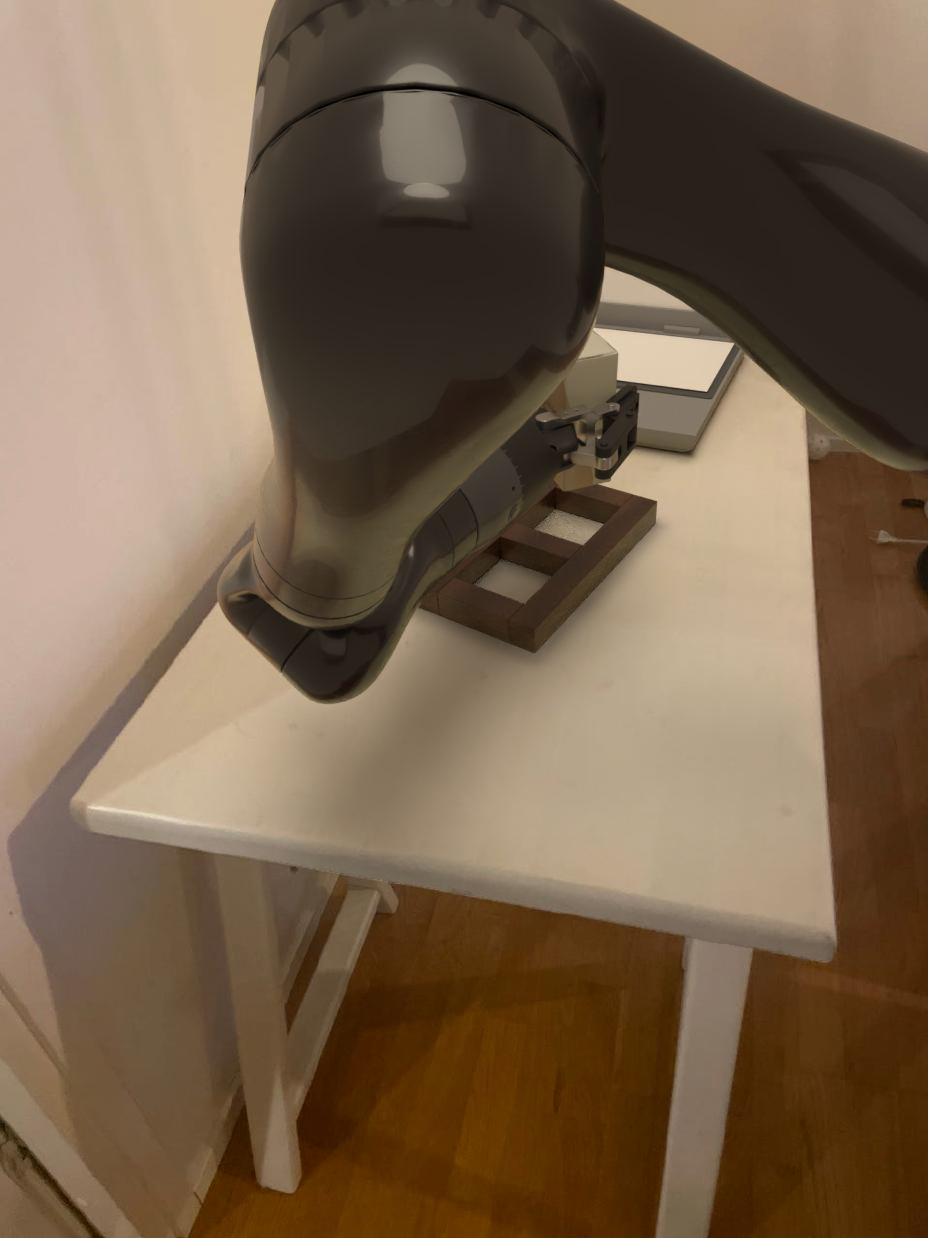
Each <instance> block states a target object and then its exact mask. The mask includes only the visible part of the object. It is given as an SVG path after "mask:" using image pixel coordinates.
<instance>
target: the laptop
mask: <svg viewBox="0 0 928 1238" xmlns="http://www.w3.org/2000/svg"><path fill="white" fill-rule="evenodd" d="M593 330H594V331H595V332H596V333H597V334H599V335H600V336H601V337H602V338H604V339H605V340H606V341H607V342H608V343H609V344H610V345H611V346H612V347H613V348H615V349H616V350H617V351H618V369H617V386H616V393H617V392H618V391H619V390H621V389H622V388H623V387H624V386H625V385H627V384H630V385H634V386H637V393H640V397H639V411H638V424H637V441H636V446H640V447H645V448H651V449H657V450H658V449H659V450H665V451H671V452H678V453H685V452H688V451H691V450H694V448H695V446H696V444H697V442H698V441H699V439H700V437H701V436H702V434H703V431H704V429H706V426H707V424H708V423H709V420H710V419H711V417H712V415H713V413H714V411H715V409H716V408H717V405H718V404H719V402H720V400H721V398H722V396H723V395H724V393H725V391H726V389H727V387H728V386H729V384H730V381H731V379H732V378H733V376H734V374H735V373H736V370H737V369H738V367H739V365H740V363H741V362H742V360H743V358H744V355H746V354H745V353H744V352H743V351H742V350H741V349H740V348H739V347H737V346H736V345H735V344H734V343H733V342H732V341H731V340H730V339H729V338H728V337H726V336H725V335H724V334H723V333H722V332H721V331H719V330H718V329H717V328H716V327H715V326H714V325H713V324H711V323H710V322H709V321H708V320H707V319H706V318H705V317H703V316H702V315H700V314H699V313H698V312H696V311H695V310H693V309H692V308H691V307H689V306H688V305H686V304H685V303H684V302H682V301H681V300H679V299H677V298H675V297H674V296H672V295H670V294H668V293H667V292H665V291H663V290H661V289H660V288H658V287H656V286H654V285H651V284H649V283H647V282H645V281H643V280H640V279H638V278H636V277H634V276H632V275H629V274H626V273H623V272H620V271H617V270H614V269H611V268H608V267H605V270H604V280H603V287H602V294H601V299H600V305H599V311H598V315H597V319H596V323H595V326H594V329H593Z"/></svg>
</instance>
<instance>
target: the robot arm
mask: <svg viewBox="0 0 928 1238" xmlns="http://www.w3.org/2000/svg"><path fill="white" fill-rule="evenodd" d="M257 71H258V72H257V77H256V79H257V80H256V86H255V94H254V95H255V96H254V102H253V111H252V118H251V129H250V136H249V146H248V155H247V161H246V170H245V171H246V172H245V178H244V186H243V187H244V188H243V189H244V190H243V191H244V192H243V198H242V206H241V212H240V219H239V221H240V222H239V233H238V247H239V248H238V249H239V263H240V270H241V271H240V272H241V278H242V287H243V292H244V293H243V294H244V299H245V305H246V309H247V316H248V321H249V325H250V330H251V336H252V340H253V341H252V342H253V345H254V349H255V350H254V351H255V355H256V361H257V366H258V371H259V376H260V380H261V385H262V390H263V394H264V398H265V403H266V409H267V413H268V418H269V422H270V427H271V433H272V442H273V456H272V457H271V459H270V462H269V464H268V465H267V468H266V469H265V472H264V474H263V477H262V481H261V484H260V489H259V490H260V491H259V493H258V499H257V504H256V510H255V511H256V512H255V521H254V529H253V539H252V540H251V541H249V542H247V544H246V545H244V546H243V547H242V548H241V549H240V550H239V551H238V552H237V553H236V554H235V555H234V556H233V558H232V559H230V561H229V563H228V564H227V565H226V566H225V568H224V569H223V571H222V573H221V574H220V577H219V579H218V582H217V586H216V599H217V602H218V605H219V608H220V609H221V612H222V614H223V616H224V617H225V618H226V620H227V621H228V622H229V624H230V625H231V626H232V628H233V629H234V630H235V631H236V632H238V633H239V635H240V636H242V638H243V639H245V640H246V642H247V641H248V644H250V645H251V646H252V647H253V648H254V649H255V650H256V651H257V652H258V653H259V654H260V655H261V656H262V657H263V658H264V659H265V660H266V661H267V662H268V663H269V664H270V665H271V666H272V667H273V668H274V669H275V670H276V671H277V672H279V673H280V674H281V676H282V677H283V678H284V679H285V680H286V681H287V682H288V683H289V684H290V685H291V686H292V687H293V688H294V689H295V690H296V691H298V693H299V694H300V695H302V696H303V697H305V698H306V699H308V700H309V701H311V702H314V703H316V704H320V705H321V704H322V705H335V704H341V703H345V702H348V701H350V700H352V699H355V698H357V697H358V696H360V695H362V694H363V693H364V692H365V691H367V690H368V689H369V688H370V687H371V686H372V685H373V684H374V683H375V682H376V680H377V679H378V678H379V676H380V675H381V674H382V672H383V671H384V669H385V668H386V666H387V664H388V663H389V661H390V659H391V658H392V656H393V654H394V652H395V650H396V649H397V647H398V645H399V643H400V640H401V639H402V636H403V634H404V632H405V630H406V628H407V627H408V625H409V623H410V622H411V620H412V618H413V617H414V615H415V613H416V611H417V610H418V609H419V608H420V607H419V605H420V604H421V603H422V601H423V600H424V599H425V597H426V596H427V595H428V594H429V593H430V592H431V590H432V589H433V588H434V587H435V586H436V585H437V584H438V583H439V582H440V581H441V580H442V579H443V578H444V577H445V576H447V575H448V574H449V573H450V572H451V571H452V570H453V569H455V568H456V567H457V566H458V565H459V564H460V563H461V562H462V561H464V560H465V559H466V558H467V557H468V556H470V555H471V554H472V553H474V552H475V551H477V550H479V549H480V548H482V547H484V546H485V545H487V544H488V543H489V542H491V541H492V540H493V539H494V538H495V537H497V536H498V535H499V534H500V533H501V532H502V531H503V530H505V529H506V528H507V527H508V526H509V525H510V524H511V523H512V522H514V521H515V520H516V519H517V518H518V517H519V516H520V515H521V514H523V513H524V512H525V511H526V510H527V509H528V508H529V507H530V506H532V505H533V504H534V503H535V502H536V501H537V500H538V499H539V498H540V497H542V496H543V495H544V493H545V492H546V491H547V489H548V488H549V486H550V485H551V483H552V481H553V479H554V478H555V476H556V475H557V474H558V473H560V472H562V471H565V470H568V469H571V468H572V467H574V466H575V465H576V464H579V465H584V466H589V467H594V468H595V478H597V479H600V480H607V479H610V478H611V479H612V477H613V476H614V474H615V473H616V472H617V471H618V469H619V468H620V467H621V466H622V464H623V463H624V462H625V461H626V460H627V458H628V457H629V456H630V454H631V453H632V452H633V451H634V449H635V448H636V447H637V445H636V441H637V424H638V411H639V397H640V393H637V386H634V385H630V384H627V385H625V386H624V387H623V388H622V389H621V390H619V391H618V392H617V393H616V394H615V395H613V396H612V397H611V398H610V399H609V400H607V401H606V403H605V404H602V405H599V406H596V407H592V408H589V407H587V406H586V405H584V404H582V405H578V406H575V407H572V408H568V409H565V410H562V411H559V412H557V411H548V410H545V409H543V408H541V406H542V405H543V404H544V402H545V401H546V400H547V399H548V398H549V397H550V396H551V394H552V393H553V392H554V391H555V389H556V388H557V387H558V386H559V385H560V383H561V382H562V381H563V379H564V378H565V377H566V375H567V374H568V372H569V371H570V370H571V368H572V367H573V366H574V364H575V363H576V361H577V359H578V358H579V356H580V354H581V353H582V351H583V349H584V348H585V346H586V344H587V342H588V340H589V338H590V336H591V334H592V331H593V329H594V326H595V323H596V319H597V315H598V311H599V305H600V299H601V294H602V287H603V280H604V270H605V267H608V268H611V269H614V270H617V271H620V272H623V273H626V274H629V275H632V276H634V277H636V278H638V279H640V280H643V281H645V282H647V283H649V284H651V285H654V286H656V287H658V288H660V289H661V290H663V291H665V292H667V293H668V294H670V295H672V296H674V297H675V298H677V299H679V300H681V301H682V302H684V303H685V304H686V305H688V306H689V307H691V308H692V309H693V310H695V311H696V312H698V313H699V314H700V315H702V316H703V317H705V318H706V319H707V320H708V321H709V322H710V323H711V324H713V325H714V326H715V327H716V328H717V329H718V330H719V331H721V332H722V333H723V334H724V335H725V336H726V337H728V338H729V339H730V340H731V341H732V342H733V343H734V344H735V345H736V346H737V347H739V348H740V349H741V350H742V351H743V352H744V353H745V354H744V355H746V356H747V357H748V358H749V359H750V360H751V361H752V362H754V364H756V366H758V368H759V369H761V370H762V371H763V372H764V373H765V374H766V375H768V376H769V377H770V378H771V379H772V380H773V381H774V382H775V383H776V384H777V385H779V386H780V387H781V388H782V389H783V390H784V391H785V392H786V393H787V394H788V395H789V396H790V397H791V398H792V399H793V400H794V401H795V402H797V403H798V404H799V405H800V406H801V407H803V409H804V410H806V411H807V412H808V413H809V414H811V416H813V417H814V418H815V419H816V420H817V421H818V422H819V423H821V424H822V425H823V426H824V427H826V428H827V429H828V430H830V431H831V432H832V433H834V434H835V435H836V436H837V437H839V438H840V439H842V440H843V441H844V442H846V443H847V444H849V445H850V446H852V447H853V448H855V449H857V450H858V451H860V452H862V453H863V454H865V455H866V456H868V457H870V458H872V459H873V460H874V461H876V462H878V463H881V464H883V465H884V466H887V467H889V468H891V469H895V470H898V471H901V472H904V473H907V474H911V475H914V476H917V477H919V478H920V477H921V478H923V479H926V480H928V151H926V150H924V149H921V148H918V147H915V146H913V145H911V144H908V143H906V142H903V141H900V140H898V139H896V138H893V137H891V136H888V135H886V134H884V133H881V132H879V131H876V130H874V129H871V128H870V127H866V126H864V125H861V124H858V123H856V122H854V121H851V120H849V119H846V118H843V117H841V116H838V115H836V114H834V113H831V112H828V111H826V110H824V109H822V108H819V107H817V106H814V105H812V104H810V103H807V102H805V101H802V100H800V99H798V98H796V97H794V96H792V95H790V94H788V93H785V92H783V91H781V90H778V89H777V88H775V87H773V86H771V85H769V84H767V83H765V82H763V81H761V80H759V79H757V78H755V77H754V76H752V75H750V74H748V73H746V72H744V71H743V70H740V69H738V68H736V67H735V66H733V65H732V64H729V63H727V62H726V61H724V60H723V59H720V58H719V57H717V56H716V55H714V54H712V53H710V52H708V51H706V50H705V49H703V48H701V47H699V46H697V45H695V44H694V43H692V42H690V41H688V40H687V39H685V38H683V37H682V36H680V35H677V34H676V33H674V32H672V31H670V30H669V29H667V28H665V27H664V26H661V25H659V24H658V23H657V22H654V21H652V20H651V19H650V18H647V17H646V16H643V14H640V13H638V12H636V11H635V10H633V9H631V8H629V7H628V6H626V5H624V4H622V3H620V2H619V1H617V0H274V3H273V5H272V8H271V9H270V13H269V16H268V20H267V23H266V26H265V30H264V34H263V37H262V43H261V48H260V56H259V63H258V70H257ZM601 419H603V425H602V429H599V430H595V423H596V422H597V421H598V420H601ZM577 421H578V429H577V435H576V431H575V427H574V423H573V422H577Z"/></svg>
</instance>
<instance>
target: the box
mask: <svg viewBox="0 0 928 1238" xmlns="http://www.w3.org/2000/svg"><path fill="white" fill-rule="evenodd" d="M617 369H618V351H617V350H616V349H615V348H613V347H612V346H611V345H610V344H609V343H608V342H607V341H606V340H605V339H604V338H602V337H601V336H600V335H599V334H597V333H596V332H595V331H594V330H593V331H592V334H591V336H590V338H589V340H588V342H587V344H586V346H585V348H584V349H583V351H582V353H581V354H580V356H579V358H578V359H577V361H576V363H575V364H574V366H573V367H572V368H571V370H570V371H569V372H568V374H567V375H566V377H565V378H564V379H563V381H562V382H561V383H560V385H559V386H558V387H557V388H556V389H555V391H554V392H553V393H552V394H551V396H550V397H549V398H548V399H547V400H546V401H545V402H544V404H543V405H542V406H541V408H543V409H545V410H548V411H557V412H559V411H562V410H565V409H568V408H572V407H575V406H578V405H582V404H584V405H586V406H587V407H589V408H592V407H596V406H599V405H602V404H605V403H606V401H607V400H609V399H610V398H611V397H612V396H613V395H615V394H616V386H617ZM573 423H574V427H575V431H576V435H577V429H578V421H577V422H573ZM602 425H603V419H601V420H598V421H597V422H596V423H595V430H599V429H602ZM554 481H555V482H556V483H557V484H558V486H559V487H560V488H561V489H562V490H563V491H569V490H574V489H578V488H583V487H587V486H592V485H596V484H599V485H602V484H605V483H609V482H611V481H612V477H611V478H610V479H607V480H600V479H597V478H595V468H594V467H589V466H584V465H579V464H576V465H575V466H574V467H572V468H571V469H568V470H565V471H562V472H560V473H558V474H557V475H556V476H555V478H554Z"/></svg>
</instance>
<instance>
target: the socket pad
mask: <svg viewBox="0 0 928 1238" xmlns="http://www.w3.org/2000/svg"><path fill="white" fill-rule="evenodd" d="M554 510H559V511H562V512H565V513H569V514H572V515H576V516H578V517H582V518H584V519H587V520H588V519H589V520H591V521H595V522H597V523H602V524H603V525H602V526H601V527H600V528H599V529H597V531H596V532H595V533H594V534H593V535H591V537H590V538H589V539H587V541H586V542H585V543H583V544H581V543H579V542H575V541H572V540H568V539H565V538H563V537H559V536H557V535H553V534H550V533H547V532H544V531H541V530H538V529H535V527H537V526H538V525H539V524H540V523H541V522H542V521H544V519H546V518H547V517H548V515H550V514H551V513H552V512H553V511H554ZM657 511H658V501H657V500H655V499H652V498H648V497H644V496H641V495H637V494H633V493H630V492H627V491H623V490H619V489H617V488H613V487H609V486H606V485H602V484H596V485H592V486H587V487H583V488H578V489H574V490H569V491H563V490H562V489H561V488H560V487H559V486H558V484H557V483H556V482H555V481H554V479H553V481H552V483H551V485H550V486H549V488H548V489H547V491H546V492H545V493H544V495H543V496H542V497H540V498H539V499H538V500H537V501H536V502H535V503H534V504H533V505H532V506H530V507H529V508H528V509H527V510H526V511H525V512H524V513H523V514H521V515H520V516H519V517H518V518H517V519H516V520H515V521H514V522H512V523H511V524H510V525H509V526H508V527H507V528H506V529H505V530H503V531H502V532H501V533H500V534H499V535H498V536H497V537H495V538H494V539H493V540H492V541H491V542H489V543H488V544H487V545H485V546H484V547H482V548H480V549H479V550H477V551H475V552H474V553H472V554H471V555H470V556H468V557H467V558H466V559H465V560H464V561H462V562H461V563H460V564H459V565H458V566H457V567H456V568H455V569H453V570H452V571H451V572H450V573H449V574H448V575H447V576H445V577H444V578H443V579H442V580H441V581H440V582H439V583H438V584H437V585H436V586H435V587H434V588H433V589H432V590H431V592H430V593H429V594H428V595H427V596H426V597H425V599H424V600H423V601H422V603H421V604H420V605H419V607H418V608H421V609H423V610H426V611H429V612H431V613H434V614H436V615H439V616H442V617H443V618H445V619H448V620H451V621H454V622H456V623H459V624H461V625H464V626H466V627H468V628H472V629H474V630H476V631H479V632H482V633H484V634H486V635H489V636H491V637H494V638H497V639H499V640H500V641H501V640H502V641H505V642H506V643H510V644H512V645H513V646H514V645H515V646H517V647H519V648H522V649H524V650H527V651H529V652H532V653H537V651H539V649H540V648H541V647H542V646H543V645H544V644H545V643H546V642H547V640H549V638H550V637H551V636H552V635H553V634H554V633H555V632H556V631H557V630H558V628H559V627H561V626H562V624H563V623H564V622H565V621H566V620H567V619H568V618H569V617H571V615H572V614H573V613H574V612H575V610H576V609H578V608H579V606H580V605H581V604H582V603H583V602H584V601H585V600H586V598H587V597H589V595H590V594H591V593H592V592H593V591H594V590H595V589H596V588H597V587H598V586H599V585H600V584H601V583H602V581H604V580H605V578H606V577H607V576H608V575H610V573H611V572H612V570H614V568H616V566H617V565H619V563H620V562H621V561H622V560H623V559H624V558H625V557H626V556H627V554H628V553H630V552H631V550H632V549H633V548H635V546H636V545H637V544H638V543H639V542H640V541H641V540H642V538H644V536H645V535H646V534H647V533H649V531H650V530H651V529H652V528H653V527H654V526H655V525H656V523H657ZM502 559H503V560H506V561H508V562H512V563H514V564H517V565H520V566H522V567H526V568H528V569H531V570H535V571H538V572H540V573H543V574H546V575H549V576H551V577H550V578H549V579H548V580H546V582H545V583H544V584H542V586H541V587H540V588H539V589H538V590H537V591H536V592H535V593H534V594H533V595H532V596H530V597H529V599H528V600H527V601H526V602H525V603H524V602H521V601H518V600H516V599H513V598H511V597H508V596H505V595H502V594H499V593H497V592H495V591H491V590H489V589H487V588H484V587H481V586H479V585H475V583H476V582H477V581H478V580H479V579H480V578H481V577H482V576H484V575H485V574H486V573H487V572H488V571H489V570H490V569H492V567H493V566H494V565H495V564H496V563H497V562H499V561H500V560H502Z"/></svg>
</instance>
